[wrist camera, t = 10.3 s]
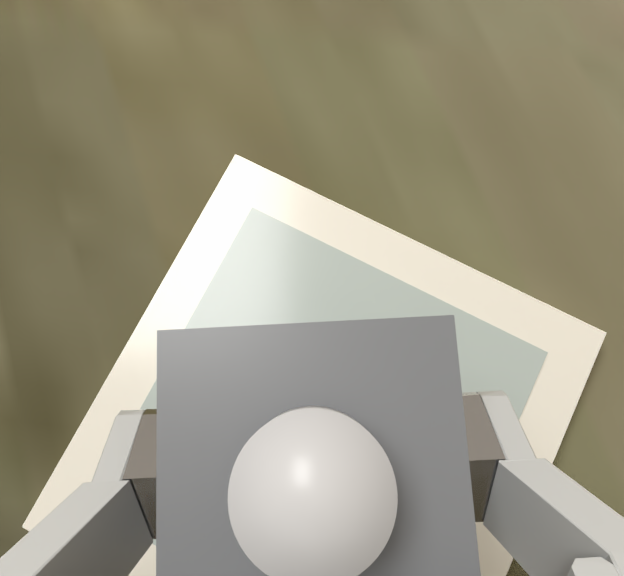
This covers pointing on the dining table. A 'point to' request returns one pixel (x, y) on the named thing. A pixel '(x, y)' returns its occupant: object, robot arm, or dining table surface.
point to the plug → (313, 451)
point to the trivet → (337, 316)
